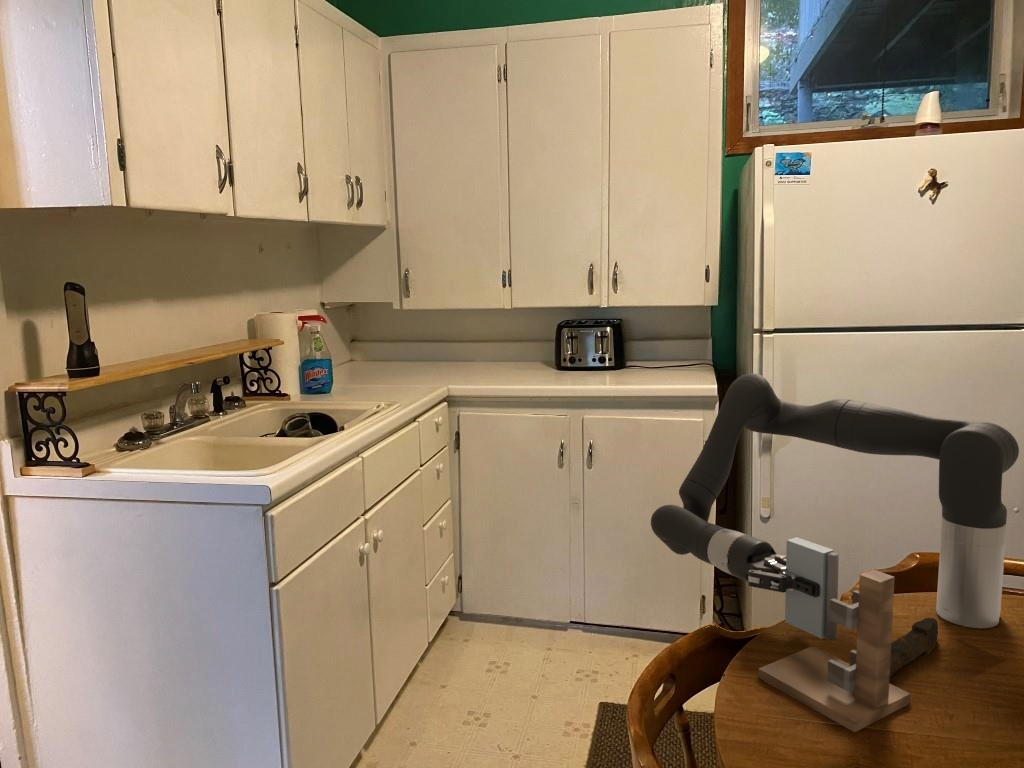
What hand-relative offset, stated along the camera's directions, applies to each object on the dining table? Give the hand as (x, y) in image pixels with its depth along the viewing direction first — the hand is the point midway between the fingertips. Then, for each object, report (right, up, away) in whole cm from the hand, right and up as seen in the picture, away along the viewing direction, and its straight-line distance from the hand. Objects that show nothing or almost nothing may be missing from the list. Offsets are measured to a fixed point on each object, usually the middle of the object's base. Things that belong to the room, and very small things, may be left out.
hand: (824, 588), depth 120 cm
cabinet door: (-1, -7, +4) cm, 8 cm away
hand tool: (+11, -11, -2) cm, 16 cm away
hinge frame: (-3, -12, -10) cm, 16 cm away
